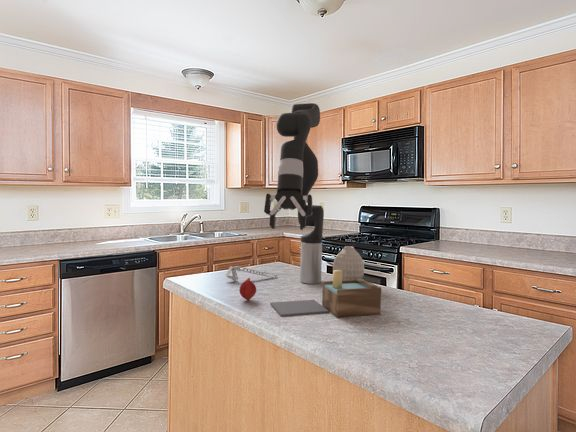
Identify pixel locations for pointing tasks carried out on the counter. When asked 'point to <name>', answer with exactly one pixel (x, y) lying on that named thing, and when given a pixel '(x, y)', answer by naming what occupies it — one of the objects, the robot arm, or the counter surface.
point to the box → (353, 300)
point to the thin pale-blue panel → (338, 283)
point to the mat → (298, 307)
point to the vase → (349, 263)
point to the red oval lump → (247, 289)
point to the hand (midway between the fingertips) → (287, 229)
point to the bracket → (244, 271)
